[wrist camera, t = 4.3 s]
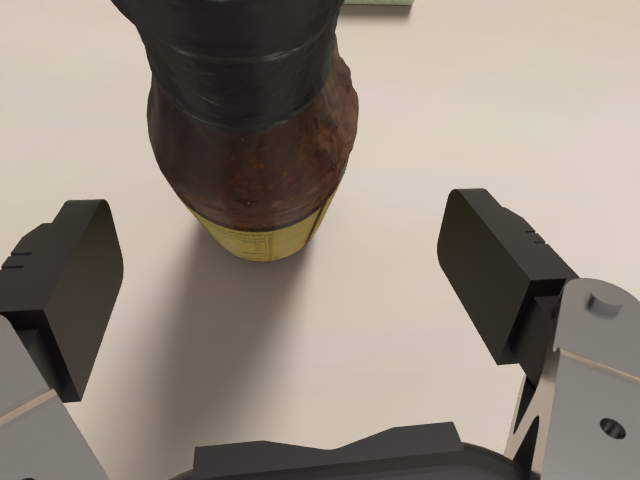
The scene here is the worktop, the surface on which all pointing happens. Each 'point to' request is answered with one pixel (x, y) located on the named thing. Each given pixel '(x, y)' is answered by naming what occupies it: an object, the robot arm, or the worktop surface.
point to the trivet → (380, 2)
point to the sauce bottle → (249, 114)
